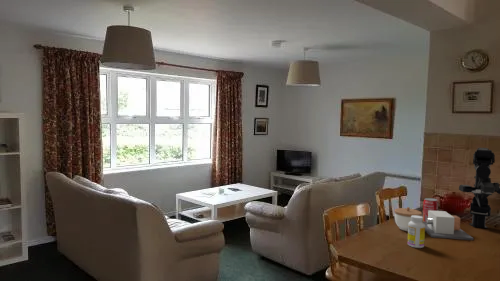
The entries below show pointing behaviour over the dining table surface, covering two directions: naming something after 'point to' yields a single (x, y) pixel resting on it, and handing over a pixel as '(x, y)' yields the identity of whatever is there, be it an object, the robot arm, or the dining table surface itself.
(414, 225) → the supplement bottle
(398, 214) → the lidded bowl
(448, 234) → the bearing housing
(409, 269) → the dining table surface
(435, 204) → the soda can
